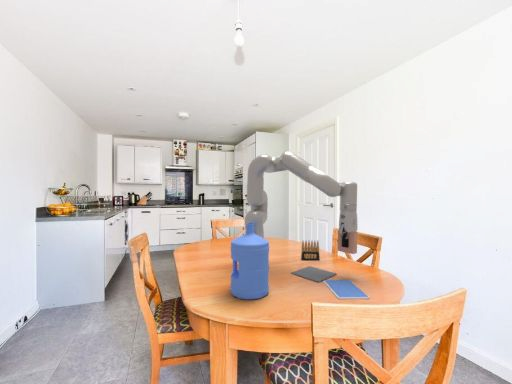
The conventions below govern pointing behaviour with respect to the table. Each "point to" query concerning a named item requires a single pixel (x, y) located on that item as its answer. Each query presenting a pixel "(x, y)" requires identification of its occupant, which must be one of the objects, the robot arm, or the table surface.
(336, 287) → the blue notebook
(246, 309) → the table surface
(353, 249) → the brown rectangular block
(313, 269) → the mat
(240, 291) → the water jug
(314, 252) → the ammunition clip
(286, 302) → the table surface
